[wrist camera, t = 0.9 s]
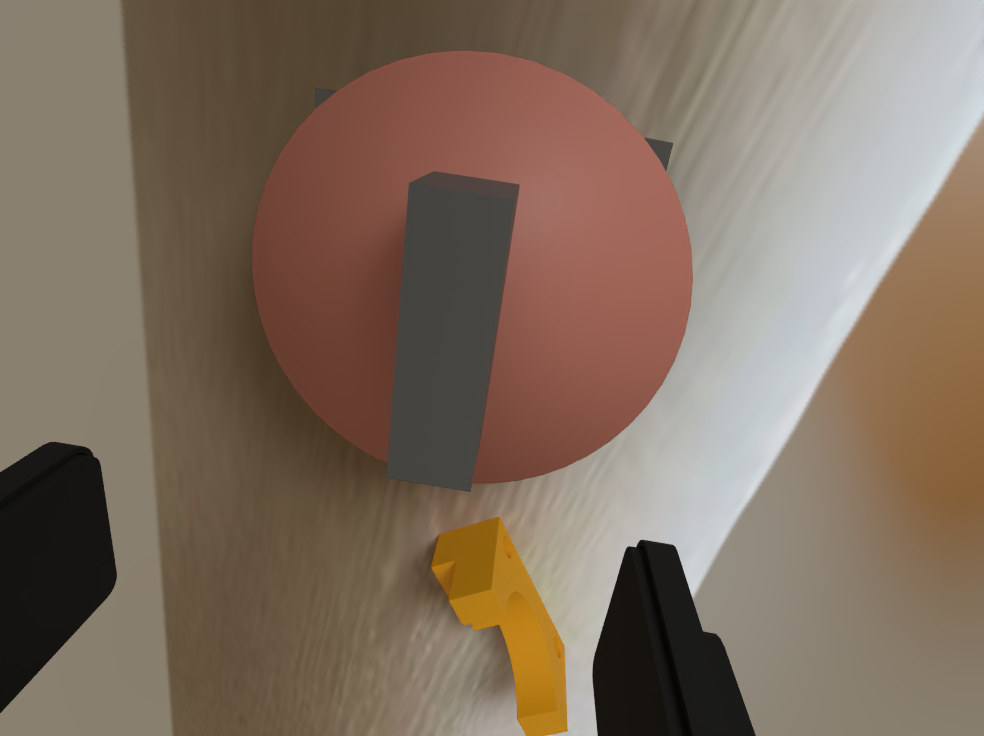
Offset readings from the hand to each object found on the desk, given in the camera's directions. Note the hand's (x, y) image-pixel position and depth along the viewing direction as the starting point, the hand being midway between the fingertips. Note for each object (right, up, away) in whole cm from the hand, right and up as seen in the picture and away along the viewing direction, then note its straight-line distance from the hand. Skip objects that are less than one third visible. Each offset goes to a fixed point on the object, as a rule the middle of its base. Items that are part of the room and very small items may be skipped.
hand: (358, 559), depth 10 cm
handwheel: (+1, +7, +15) cm, 16 cm away
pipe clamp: (+3, -12, +30) cm, 32 cm away
